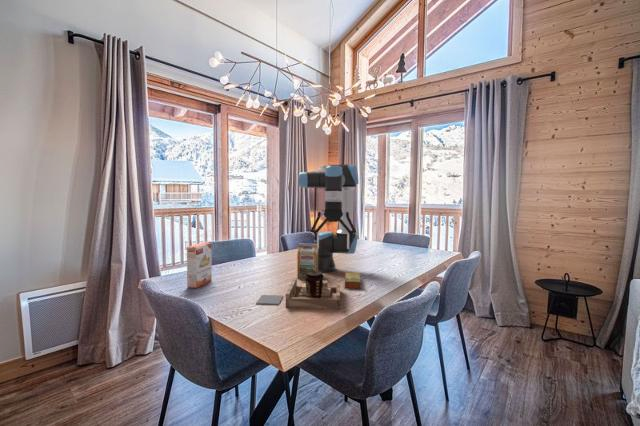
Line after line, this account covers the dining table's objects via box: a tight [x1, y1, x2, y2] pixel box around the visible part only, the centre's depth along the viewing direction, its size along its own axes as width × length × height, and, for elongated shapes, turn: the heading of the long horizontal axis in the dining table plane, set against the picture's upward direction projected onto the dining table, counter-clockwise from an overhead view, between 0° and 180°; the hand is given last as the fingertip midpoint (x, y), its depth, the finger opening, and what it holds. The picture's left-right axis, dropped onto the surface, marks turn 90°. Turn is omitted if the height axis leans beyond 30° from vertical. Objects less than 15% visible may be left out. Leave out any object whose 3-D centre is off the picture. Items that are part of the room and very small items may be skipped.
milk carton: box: [296, 243, 318, 280], centre depth 174 cm, size 11×10×19 cm
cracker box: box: [186, 242, 213, 289], centre depth 159 cm, size 14×6×21 cm, turn 168°
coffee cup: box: [304, 271, 324, 298], centre depth 136 cm, size 9×8×13 cm
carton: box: [344, 272, 362, 290], centre depth 161 cm, size 8×16×4 cm, turn 175°
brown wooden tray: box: [285, 277, 341, 310], centre depth 139 cm, size 22×23×6 cm
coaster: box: [255, 294, 284, 306], centre depth 137 cm, size 10×10×1 cm
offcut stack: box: [300, 280, 332, 297], centre depth 146 cm, size 5×14×6 cm, turn 86°
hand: (332, 248), depth 136 cm, fingers open, 13 cm apart
